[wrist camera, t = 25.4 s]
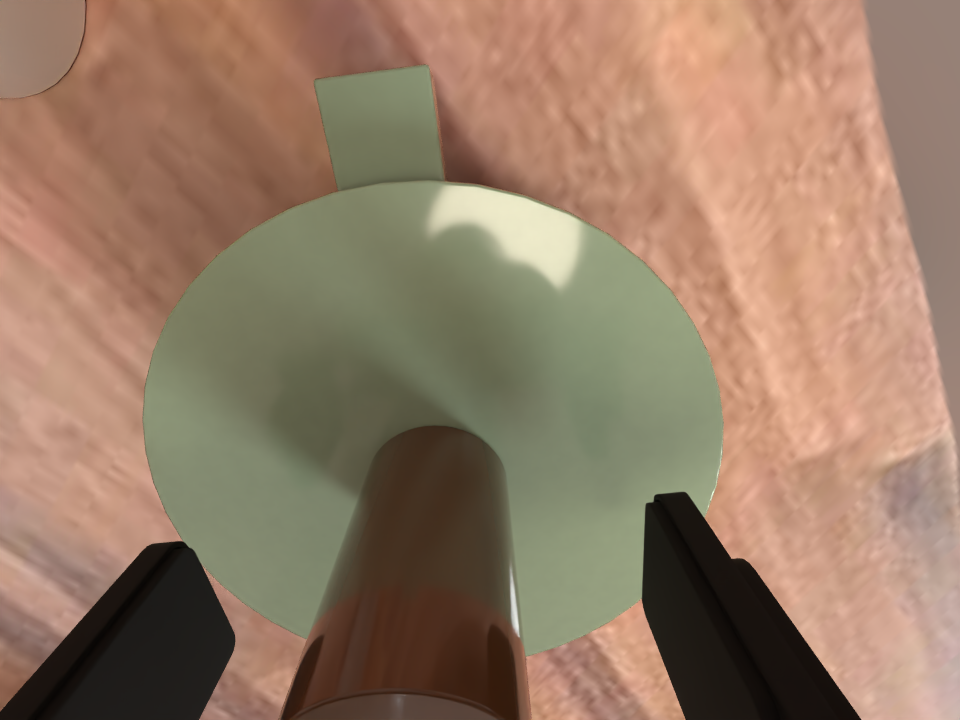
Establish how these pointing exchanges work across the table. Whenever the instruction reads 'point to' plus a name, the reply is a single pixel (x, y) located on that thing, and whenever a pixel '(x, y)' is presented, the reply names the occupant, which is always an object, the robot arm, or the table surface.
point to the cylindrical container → (37, 43)
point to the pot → (382, 126)
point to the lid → (427, 438)
